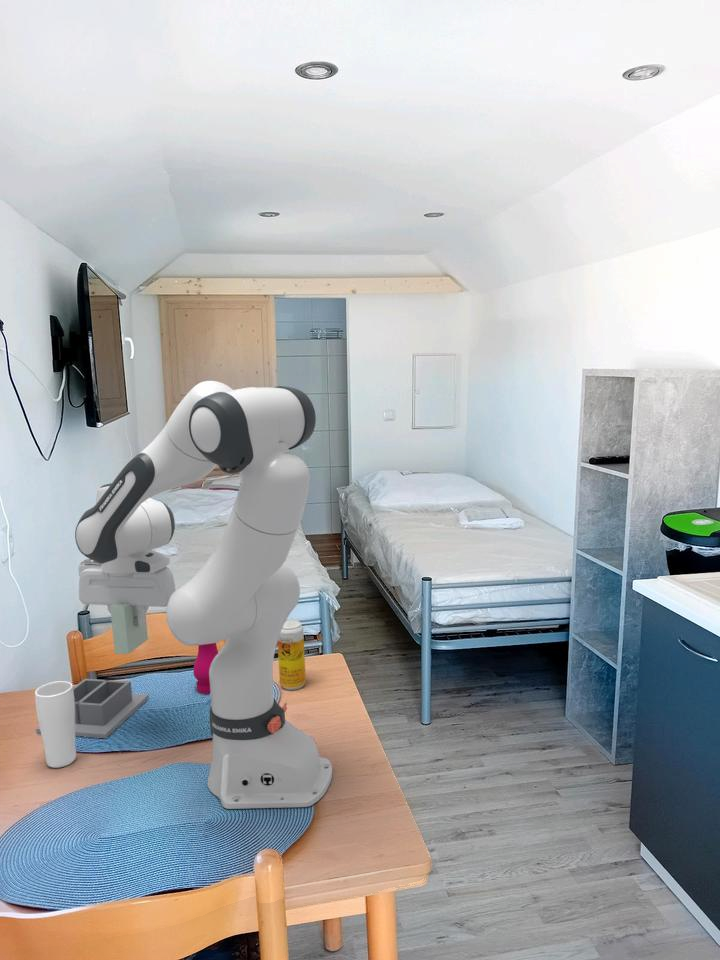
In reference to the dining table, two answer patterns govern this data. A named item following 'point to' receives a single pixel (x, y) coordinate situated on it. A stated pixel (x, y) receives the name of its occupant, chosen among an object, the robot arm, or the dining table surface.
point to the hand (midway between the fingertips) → (129, 625)
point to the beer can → (291, 656)
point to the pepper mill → (204, 666)
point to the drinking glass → (57, 722)
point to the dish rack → (103, 706)
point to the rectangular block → (126, 628)
